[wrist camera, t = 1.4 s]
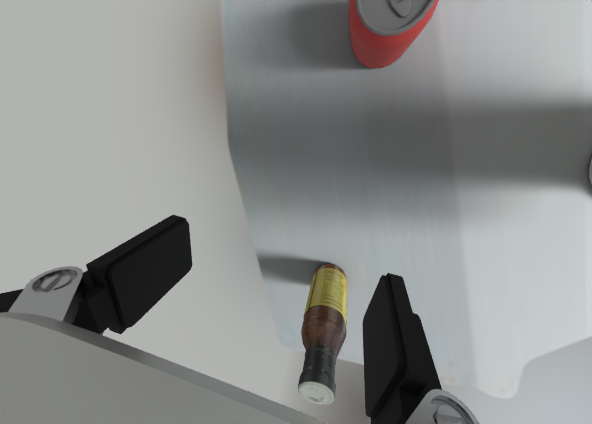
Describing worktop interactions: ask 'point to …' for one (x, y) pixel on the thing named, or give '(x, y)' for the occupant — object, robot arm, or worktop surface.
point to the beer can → (386, 28)
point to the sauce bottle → (323, 333)
